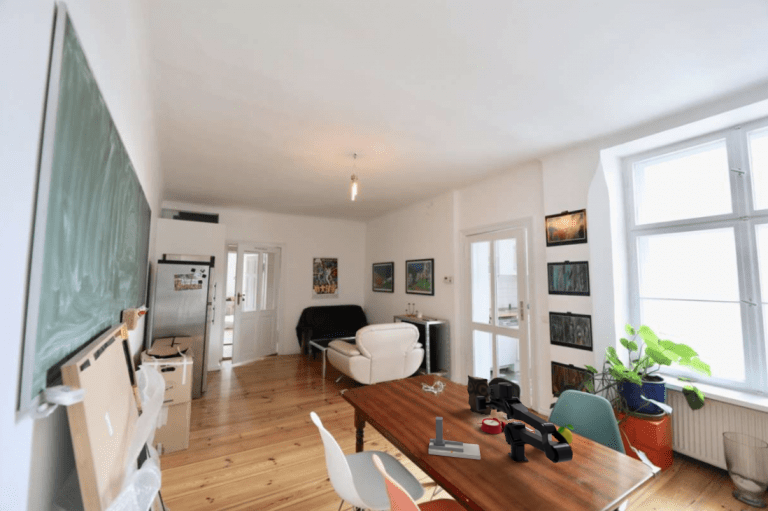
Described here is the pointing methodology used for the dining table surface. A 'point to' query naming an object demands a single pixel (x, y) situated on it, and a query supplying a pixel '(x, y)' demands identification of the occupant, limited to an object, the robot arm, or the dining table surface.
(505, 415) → the fork
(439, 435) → the fader tab
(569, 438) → the lemon
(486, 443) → the dining table surface
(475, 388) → the owl
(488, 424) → the alarm clock
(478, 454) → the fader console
